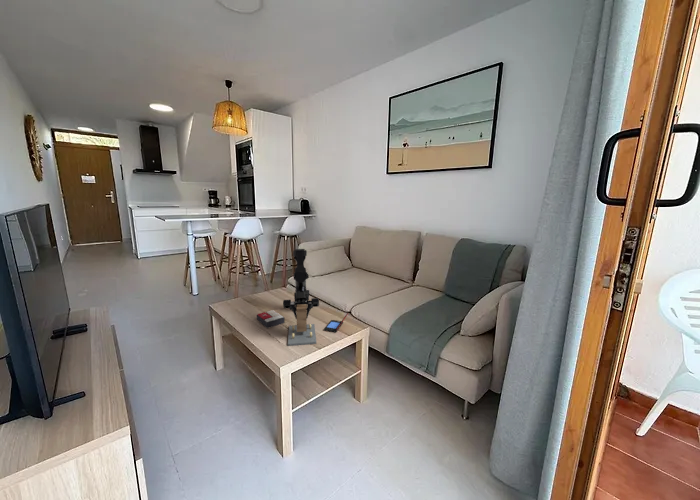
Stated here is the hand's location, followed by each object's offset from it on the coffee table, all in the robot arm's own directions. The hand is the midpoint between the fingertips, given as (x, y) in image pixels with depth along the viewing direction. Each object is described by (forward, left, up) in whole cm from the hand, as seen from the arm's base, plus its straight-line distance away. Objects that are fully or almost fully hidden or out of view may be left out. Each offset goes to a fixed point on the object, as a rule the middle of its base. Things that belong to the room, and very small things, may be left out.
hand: (301, 318), depth 150 cm
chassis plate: (-1, -1, -10) cm, 10 cm away
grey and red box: (+3, -28, -11) cm, 30 cm away
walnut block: (-1, -1, -7) cm, 7 cm away
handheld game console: (-20, +5, -10) cm, 23 cm away
